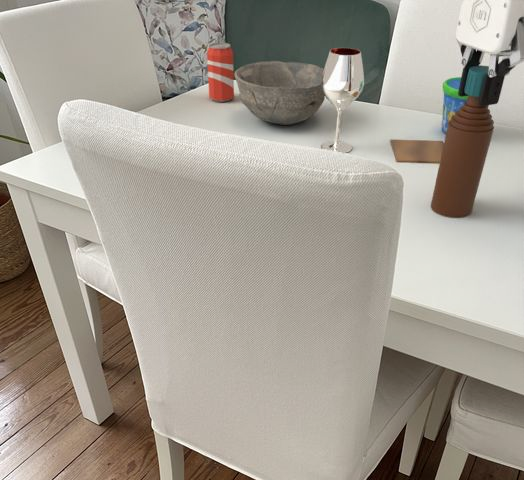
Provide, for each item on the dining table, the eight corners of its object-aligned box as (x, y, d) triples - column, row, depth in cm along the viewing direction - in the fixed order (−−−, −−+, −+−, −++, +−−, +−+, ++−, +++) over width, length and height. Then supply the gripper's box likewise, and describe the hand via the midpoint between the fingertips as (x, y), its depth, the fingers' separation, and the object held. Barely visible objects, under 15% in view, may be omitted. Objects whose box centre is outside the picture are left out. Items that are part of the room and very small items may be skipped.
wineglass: (317, 139, 120) (323, 45, 109) (355, 141, 120) (366, 46, 108) (315, 154, 114) (322, 56, 103) (356, 156, 114) (368, 57, 102)
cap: (458, 92, 85) (463, 68, 83) (475, 87, 87) (480, 63, 85) (481, 99, 82) (487, 75, 80) (499, 93, 84) (505, 70, 82)
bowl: (266, 143, 119) (267, 92, 112) (218, 114, 132) (216, 68, 125) (344, 124, 127) (349, 77, 121) (291, 100, 140) (293, 55, 134)
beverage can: (238, 97, 142) (237, 44, 134) (224, 104, 138) (222, 49, 130) (218, 93, 144) (216, 40, 136) (204, 100, 140) (201, 46, 132)
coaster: (442, 142, 120) (443, 140, 119) (453, 163, 111) (453, 161, 111) (390, 141, 120) (390, 139, 120) (396, 161, 112) (396, 160, 111)
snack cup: (493, 147, 118) (507, 96, 111) (441, 146, 118) (452, 95, 111) (474, 121, 129) (486, 73, 123) (428, 120, 130) (437, 72, 123)
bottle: (458, 197, 100) (489, 75, 87) (479, 215, 95) (514, 88, 82) (423, 201, 99) (448, 78, 86) (442, 219, 94) (472, 91, 81)
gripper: (447, -54, 78) (424, 87, 90) (534, -40, 66) (493, 120, 78) (492, -57, 80) (463, 82, 92) (584, -44, 68) (537, 113, 80)
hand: (477, 98), depth 85 cm, fingers closed on cap, 4 cm apart
